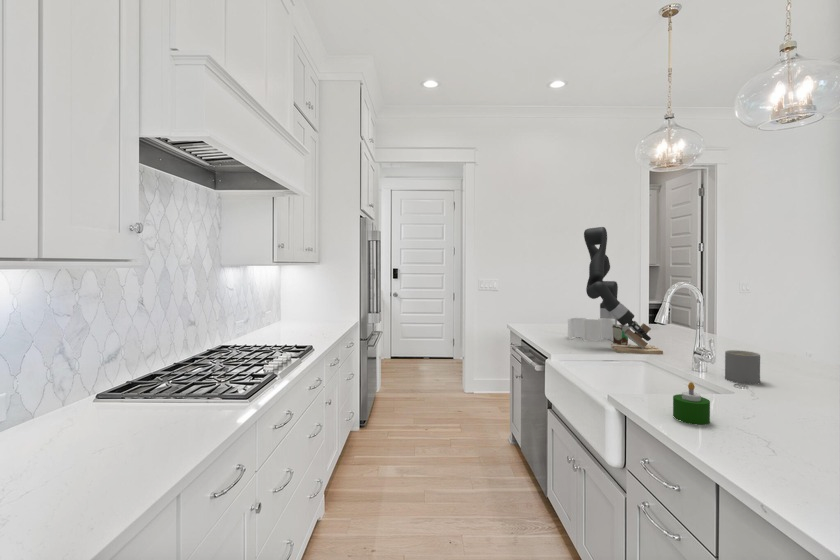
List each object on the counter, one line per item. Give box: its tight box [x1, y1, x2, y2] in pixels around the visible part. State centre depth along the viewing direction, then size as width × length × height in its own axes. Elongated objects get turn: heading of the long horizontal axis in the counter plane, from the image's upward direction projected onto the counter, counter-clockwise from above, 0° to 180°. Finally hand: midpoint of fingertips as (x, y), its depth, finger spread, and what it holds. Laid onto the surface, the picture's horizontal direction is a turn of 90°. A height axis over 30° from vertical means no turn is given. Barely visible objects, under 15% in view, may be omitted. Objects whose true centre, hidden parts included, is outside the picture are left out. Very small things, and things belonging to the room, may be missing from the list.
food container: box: [612, 323, 631, 345], centre depth 223 cm, size 12×6×10 cm, turn 179°
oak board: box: [610, 343, 664, 355], centre depth 205 cm, size 14×20×2 cm
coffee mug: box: [724, 349, 761, 385], centre depth 151 cm, size 13×10×10 cm
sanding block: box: [623, 323, 652, 349], centre depth 204 cm, size 6×10×10 cm
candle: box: [672, 381, 711, 426], centre depth 111 cm, size 8×8×10 cm
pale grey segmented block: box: [567, 317, 615, 342], centre depth 238 cm, size 25×10×12 cm, turn 71°
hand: (648, 339), depth 203 cm, fingers closed on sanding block, 3 cm apart
